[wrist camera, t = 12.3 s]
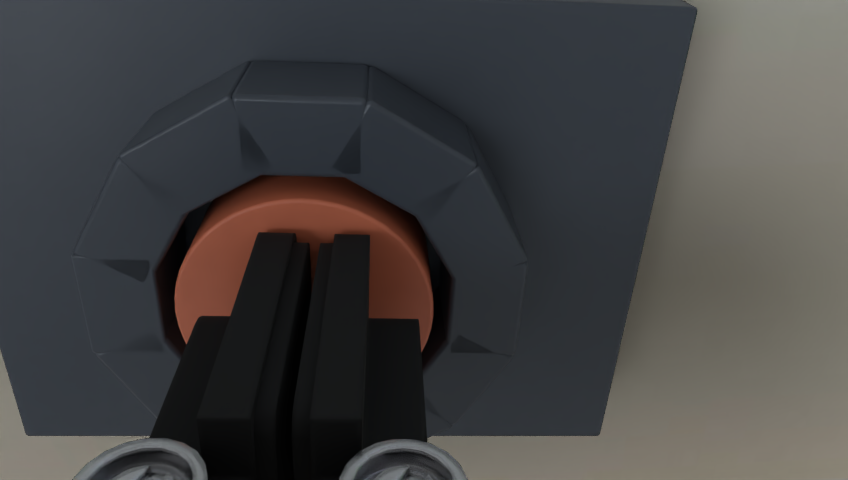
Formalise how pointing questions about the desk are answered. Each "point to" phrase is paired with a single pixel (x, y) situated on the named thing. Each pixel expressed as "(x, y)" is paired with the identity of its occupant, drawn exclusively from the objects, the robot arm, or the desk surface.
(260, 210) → the button
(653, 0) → the button box
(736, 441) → the desk surface
